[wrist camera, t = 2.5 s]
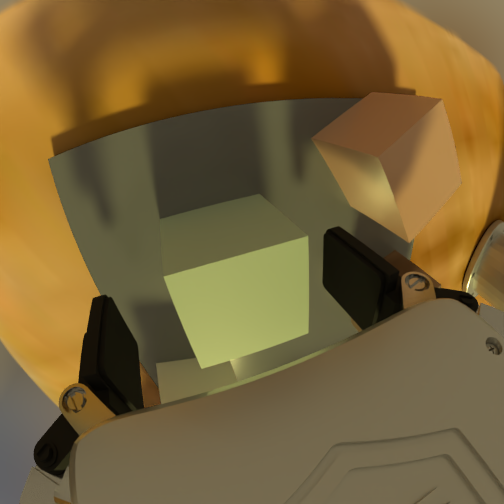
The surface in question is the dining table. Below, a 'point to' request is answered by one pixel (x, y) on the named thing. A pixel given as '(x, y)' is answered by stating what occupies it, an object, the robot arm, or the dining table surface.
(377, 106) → the terracotta cube
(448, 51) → the dining table surface
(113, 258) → the slate board
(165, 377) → the cream cube
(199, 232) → the sage cube
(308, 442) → the robot arm
